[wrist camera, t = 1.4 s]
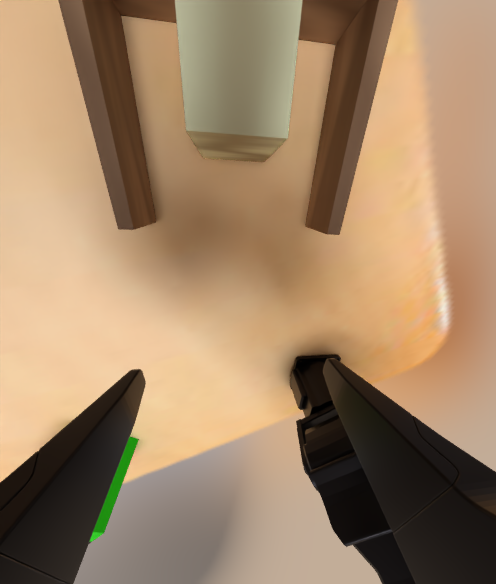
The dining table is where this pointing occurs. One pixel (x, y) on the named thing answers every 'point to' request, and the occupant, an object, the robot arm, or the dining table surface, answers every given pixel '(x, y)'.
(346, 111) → the open wooden frame
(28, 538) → the robot arm
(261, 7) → the block
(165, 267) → the dining table surface
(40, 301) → the dining table surface
